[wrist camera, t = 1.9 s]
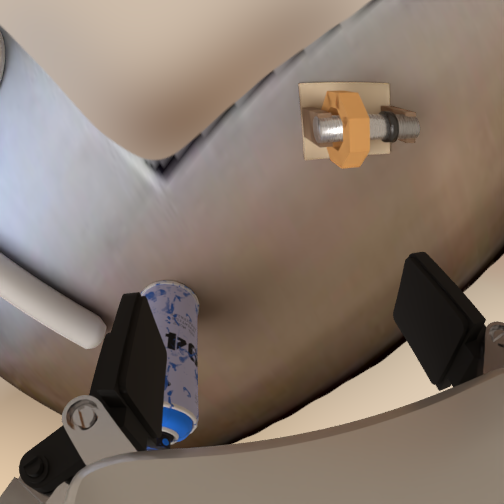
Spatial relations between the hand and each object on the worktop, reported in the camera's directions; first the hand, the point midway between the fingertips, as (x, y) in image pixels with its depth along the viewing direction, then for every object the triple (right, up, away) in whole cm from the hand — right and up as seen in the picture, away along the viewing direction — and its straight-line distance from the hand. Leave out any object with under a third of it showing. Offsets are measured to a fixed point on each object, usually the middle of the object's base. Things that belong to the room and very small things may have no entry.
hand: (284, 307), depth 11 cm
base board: (+9, +16, +19) cm, 26 cm away
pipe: (+9, +14, +16) cm, 23 cm away
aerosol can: (-12, -5, +29) cm, 31 cm away
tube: (-31, -2, +24) cm, 39 cm away
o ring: (+7, +14, +17) cm, 24 cm away
